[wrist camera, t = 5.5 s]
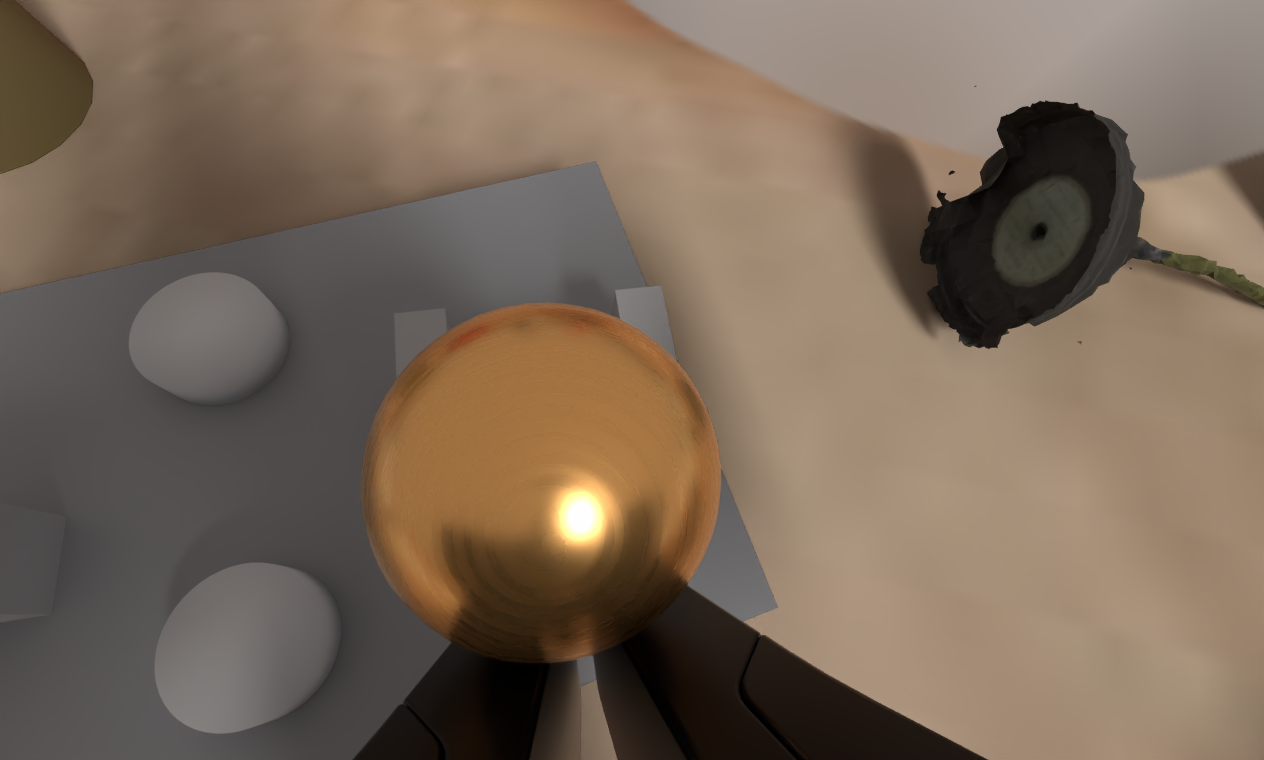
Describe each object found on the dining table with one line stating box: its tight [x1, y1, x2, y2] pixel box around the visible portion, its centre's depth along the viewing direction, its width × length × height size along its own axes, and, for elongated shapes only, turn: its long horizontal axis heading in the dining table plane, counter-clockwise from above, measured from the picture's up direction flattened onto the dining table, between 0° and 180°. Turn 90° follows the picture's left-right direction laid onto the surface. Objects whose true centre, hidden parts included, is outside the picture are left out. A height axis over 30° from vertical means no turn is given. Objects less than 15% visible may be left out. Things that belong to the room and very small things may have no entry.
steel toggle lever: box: [360, 302, 721, 664], centre depth 9 cm, size 3×3×11 cm
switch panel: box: [0, 161, 778, 760], centre depth 13 cm, size 13×21×6 cm, turn 109°
